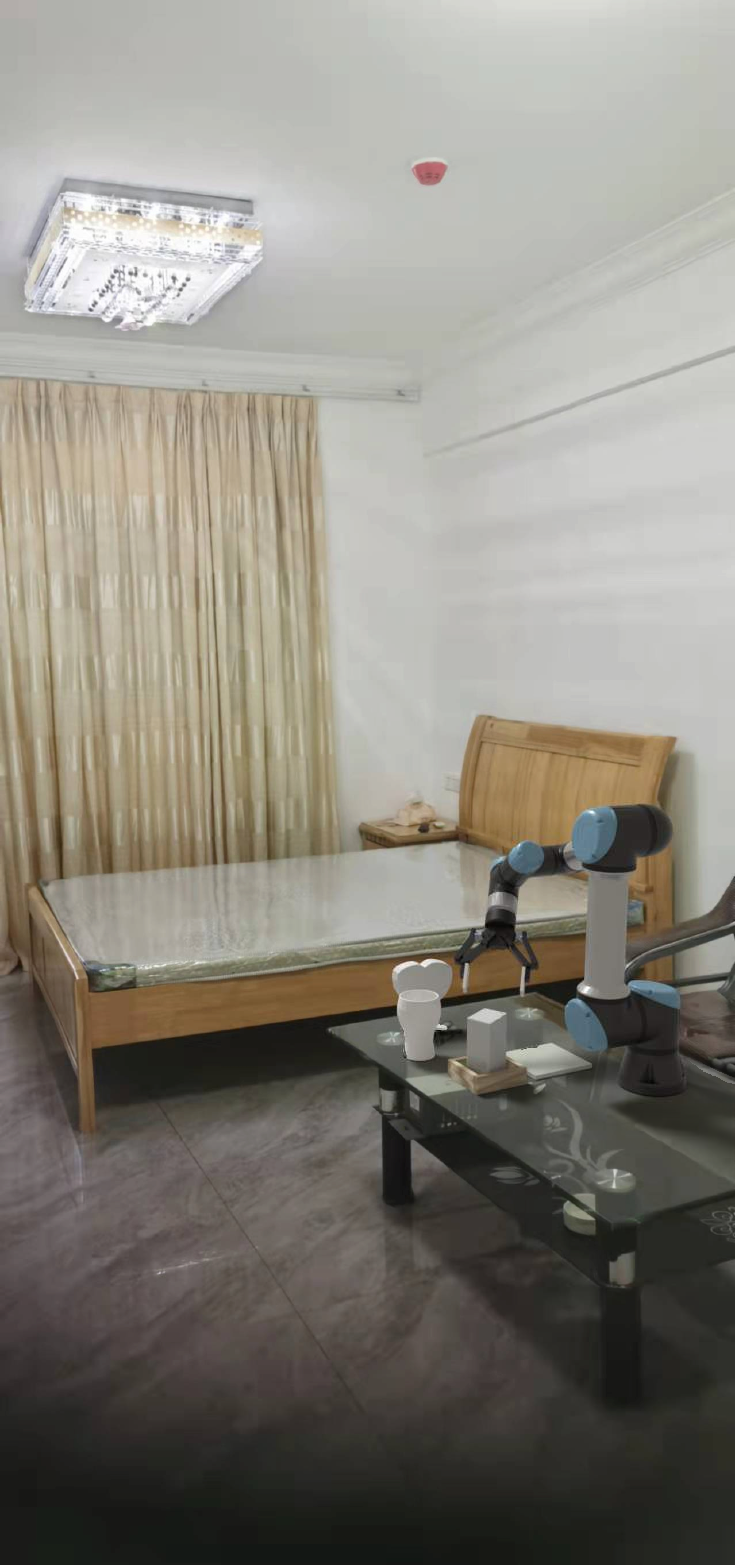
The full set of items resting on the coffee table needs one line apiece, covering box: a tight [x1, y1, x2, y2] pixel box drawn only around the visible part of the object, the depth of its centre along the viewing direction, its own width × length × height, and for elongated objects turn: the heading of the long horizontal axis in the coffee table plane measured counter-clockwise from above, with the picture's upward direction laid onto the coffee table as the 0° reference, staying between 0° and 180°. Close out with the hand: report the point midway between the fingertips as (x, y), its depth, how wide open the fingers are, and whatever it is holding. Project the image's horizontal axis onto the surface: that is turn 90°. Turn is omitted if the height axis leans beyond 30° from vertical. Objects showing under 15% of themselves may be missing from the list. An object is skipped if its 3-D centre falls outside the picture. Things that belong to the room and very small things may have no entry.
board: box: [506, 1042, 593, 1081], centre depth 279 cm, size 16×16×1 cm
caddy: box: [447, 1055, 528, 1096], centre depth 268 cm, size 12×13×4 cm
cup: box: [396, 990, 442, 1062], centre depth 283 cm, size 11×11×15 cm
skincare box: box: [466, 1008, 508, 1075], centre depth 268 cm, size 8×7×16 cm
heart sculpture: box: [391, 958, 453, 1031], centre depth 302 cm, size 16×5×18 cm, turn 111°
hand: (493, 992), depth 277 cm, fingers open, 13 cm apart
